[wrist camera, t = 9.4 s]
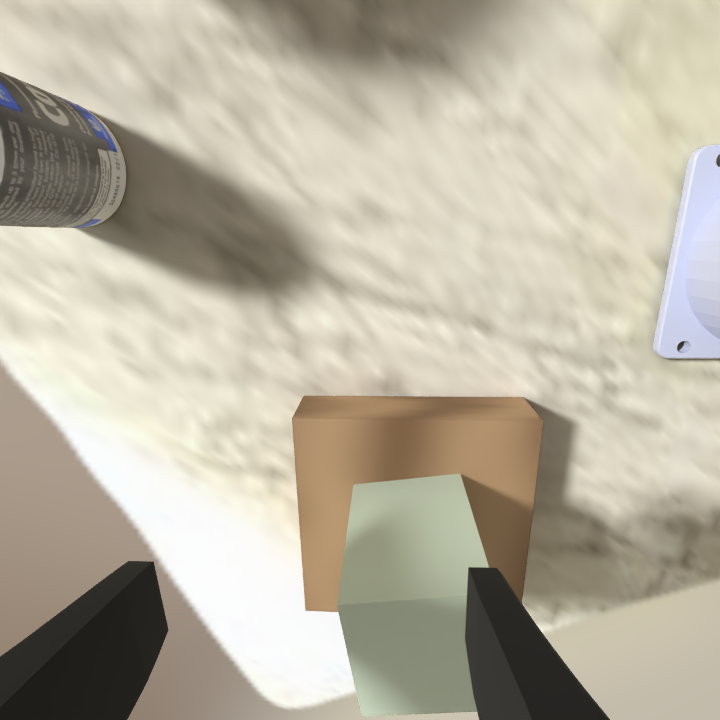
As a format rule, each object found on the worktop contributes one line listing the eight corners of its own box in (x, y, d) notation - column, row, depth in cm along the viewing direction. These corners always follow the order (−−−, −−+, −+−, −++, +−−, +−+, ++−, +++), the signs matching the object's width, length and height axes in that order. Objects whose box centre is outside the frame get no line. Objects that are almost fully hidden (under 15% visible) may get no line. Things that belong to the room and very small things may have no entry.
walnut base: (523, 397, 19) (543, 421, 16) (505, 576, 22) (519, 619, 19) (303, 395, 19) (291, 418, 17) (314, 570, 22) (305, 610, 20)
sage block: (460, 473, 17) (496, 593, 11) (469, 562, 18) (506, 710, 13) (353, 484, 18) (336, 605, 12) (369, 570, 19) (361, 716, 13)
